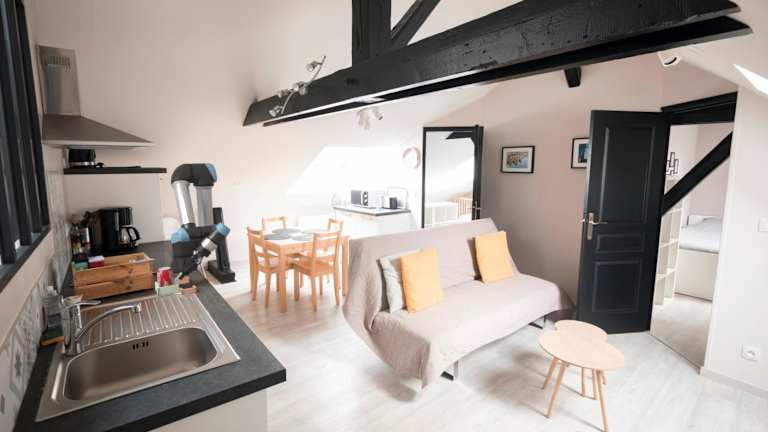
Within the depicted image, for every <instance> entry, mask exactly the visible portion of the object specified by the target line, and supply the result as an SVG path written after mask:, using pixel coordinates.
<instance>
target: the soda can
mask: <svg viewBox="0 0 768 432" xmlns="http://www.w3.org/2000/svg"><path fill="white" fill-rule="evenodd" d="M173 274H174V272H172V269H171V267H170V266H163V267H162V266H161V267H158V268H157V272H156V277H157V278H156V279H157V282H158V285H159V287H166V286H171V285H174V284H173V279H174V275H173Z"/></svg>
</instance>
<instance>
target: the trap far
mask: <svg viewBox="0 0 768 432" xmlns="http://www.w3.org/2000/svg"><path fill="white" fill-rule="evenodd" d="M190 283H191V282H190V277H189V275H186V276H185V277H184V278H183V279H182V281H181V282H180V283H179V286H180V285H185V284H190Z"/></svg>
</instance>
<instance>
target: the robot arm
mask: <svg viewBox="0 0 768 432" xmlns="http://www.w3.org/2000/svg"><path fill="white" fill-rule="evenodd" d="M217 182H218V176H217V171H216V168H215V166H214V164H212V163H211V162H209V163H207V162H200V163H199V162H197V163H188V162H187V163H182V164H179V165H178V166H177V167H176V168H175V169H174V170H173V172H172V174H171V177H170V185H171V188H172V189H173V190H174V195H175V201H176V208H177V214H178V218H179V224H180V228H178V229H177V231H176V232H174V233H173V234H172V235H171V236H170V240H171V241H170V243H171V253H172V260H171V263H170V266H169V267H171V269H172V272H173V273H179V274H178V275H177V276H176V277H174V278H173V279H174V281H173V284H175V285H177V284H179V283H180V282H181V281H182V279H183V278H184V277H186V276H189V275H190V274H191V273H192V272H193V271H194V270H197V269H198V268H199V265H201V264H202V261H203V259H204V257H205V258H206V259H208V258H209V257H210V255H211V254H212V252H214V251H215V250H217V249H218V246H219V245H220V244H221V243H222V242H223V241H224V240H225V239H226V237H228V236H229V234H230V233H231V229H230V227H228V226H227V225H226V224H225V223H223V222H219V223H218V224H215V223H214V212H213V211H214V209H213V191H212V189H213V187H215V183H217ZM191 184H192V186H193V187H194V188H195V192H196V194H195V195H196V206H197V208H196V209H197V210H196V211H197V212H196V213H197V224H196V218H195V213H194V209H193V203H192V198H191V197H192V196H191V191H190V186H191ZM197 225H198V226H197ZM195 252H196V253H195ZM194 253H195V254H194ZM196 268H197V269H196Z"/></svg>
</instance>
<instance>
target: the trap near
mask: <svg viewBox="0 0 768 432" xmlns="http://www.w3.org/2000/svg"><path fill="white" fill-rule="evenodd" d="M179 290H180V292H179V293H180V295H181V296H185V295H189V294H190V293H191V294H195V293H198V292H197V291H198V289H197V286H196V285H192V287H189V288H185V289H183V288H182V287H179ZM191 294H190V295H191Z"/></svg>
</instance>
